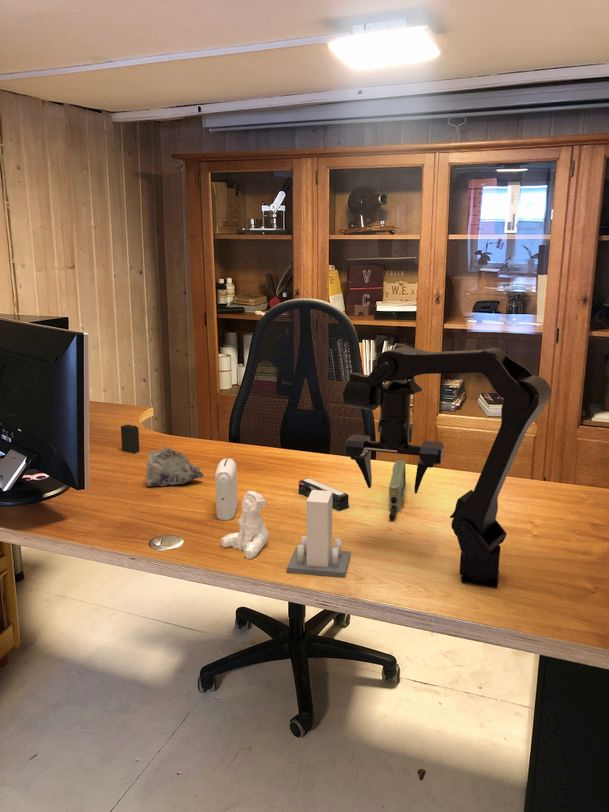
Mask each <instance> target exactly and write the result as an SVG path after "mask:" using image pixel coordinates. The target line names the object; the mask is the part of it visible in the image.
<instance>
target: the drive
mask: <svg viewBox="0 0 609 812" xmlns="http://www.w3.org/2000/svg"><path fill="white" fill-rule="evenodd" d="M332 493H333V491H322V490H312V491H311V493H310V495H309V497H307V499H306V501H305V502H306V505H305V506H306V536H307V566H319V567H328V564H329V561H330V558H331V555H332V548H333V508H332Z"/></svg>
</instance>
